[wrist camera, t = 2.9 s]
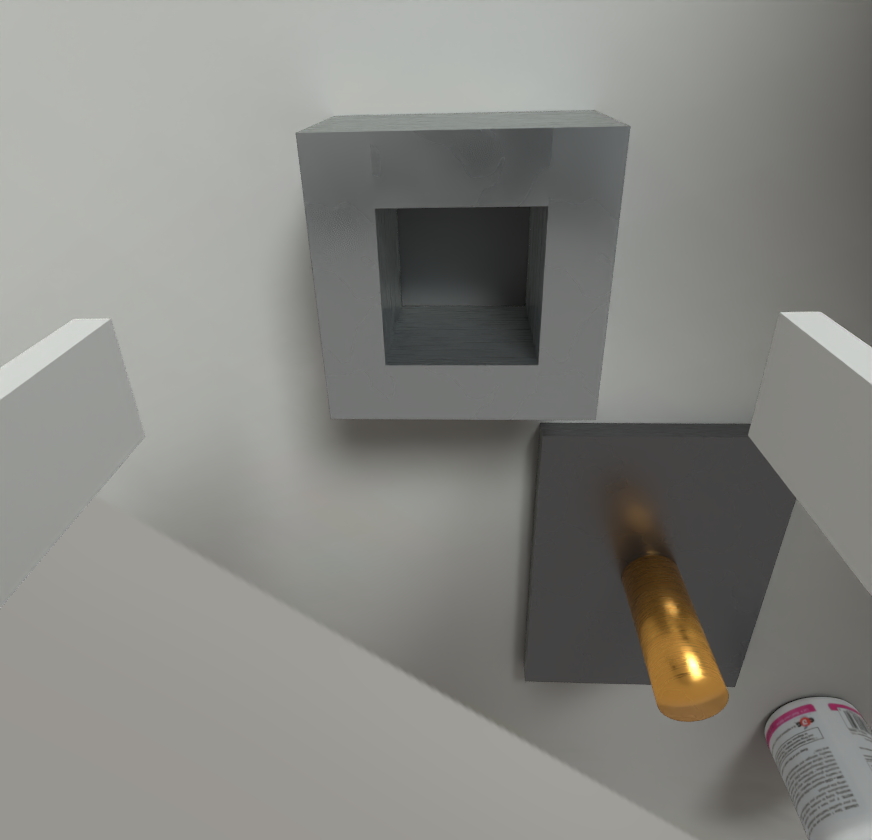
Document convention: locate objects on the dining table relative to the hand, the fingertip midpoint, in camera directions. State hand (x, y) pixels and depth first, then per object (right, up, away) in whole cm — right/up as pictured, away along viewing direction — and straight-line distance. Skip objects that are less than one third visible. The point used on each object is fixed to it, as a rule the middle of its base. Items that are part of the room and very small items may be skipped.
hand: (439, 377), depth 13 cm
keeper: (+9, -7, +15) cm, 19 cm away
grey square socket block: (+1, +5, +9) cm, 10 cm away
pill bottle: (+19, -17, +20) cm, 33 cm away
